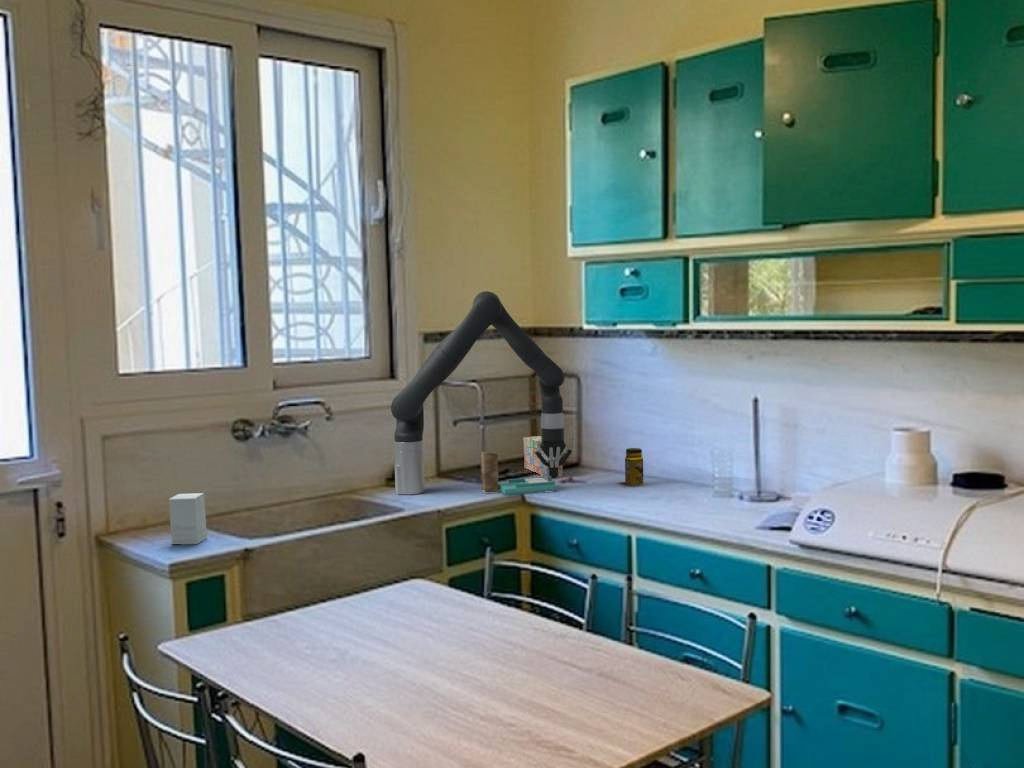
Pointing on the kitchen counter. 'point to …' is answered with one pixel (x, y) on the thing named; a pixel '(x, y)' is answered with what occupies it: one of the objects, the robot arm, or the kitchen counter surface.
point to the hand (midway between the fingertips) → (553, 478)
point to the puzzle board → (525, 487)
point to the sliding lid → (540, 479)
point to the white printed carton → (532, 460)
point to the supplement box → (187, 518)
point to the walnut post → (489, 471)
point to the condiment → (633, 468)
